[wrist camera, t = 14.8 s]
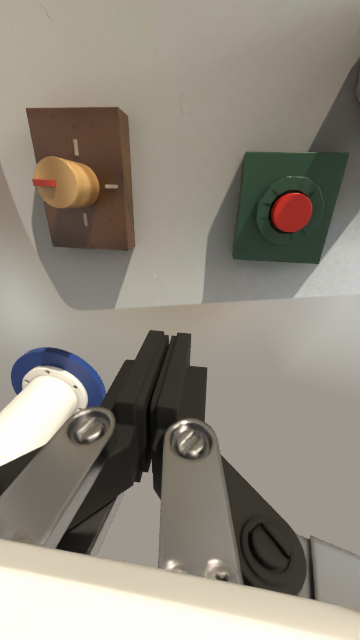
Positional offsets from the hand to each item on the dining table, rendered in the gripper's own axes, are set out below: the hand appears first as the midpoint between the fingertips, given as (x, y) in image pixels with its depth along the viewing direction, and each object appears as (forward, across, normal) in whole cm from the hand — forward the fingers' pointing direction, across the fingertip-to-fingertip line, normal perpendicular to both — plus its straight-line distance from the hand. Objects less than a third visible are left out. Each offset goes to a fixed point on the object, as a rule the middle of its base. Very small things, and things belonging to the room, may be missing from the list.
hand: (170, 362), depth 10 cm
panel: (+25, +14, -7) cm, 29 cm away
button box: (+25, -9, -5) cm, 27 cm away
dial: (+22, +14, -7) cm, 27 cm away
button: (+21, -9, -5) cm, 24 cm away
